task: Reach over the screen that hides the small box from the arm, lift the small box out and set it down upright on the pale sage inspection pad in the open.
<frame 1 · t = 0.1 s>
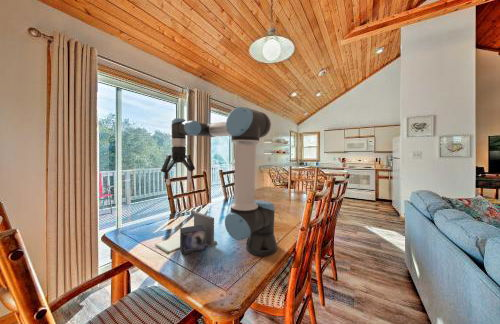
hand: (179, 183, 113), 28 cm above the table, fingers open, 13 cm apart
pad: (177, 243, 99), on the table
small box: (192, 250, 93), on the table
screen: (203, 241, 101), on the table
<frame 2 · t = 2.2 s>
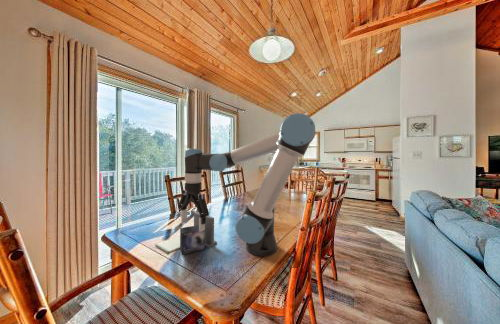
hand: (192, 226, 92), 11 cm above the table, fingers open, 13 cm apart
nothing on the table moved.
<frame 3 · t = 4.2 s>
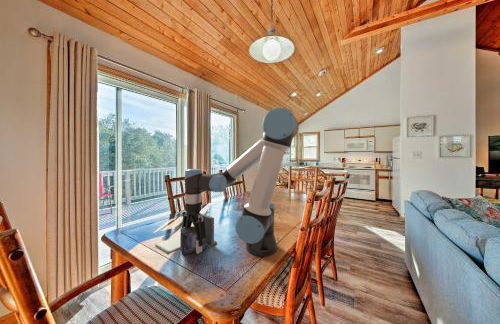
hand: (193, 249, 93), 0 cm above the table, fingers closed on small box, 8 cm apart
small box: (193, 250, 93), on the table, touching gripper
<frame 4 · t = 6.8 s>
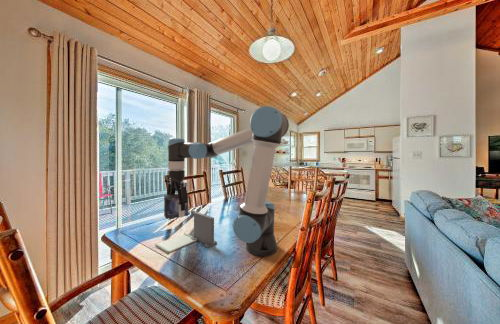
hand: (176, 214, 98), 15 cm above the table, fingers closed on small box, 8 cm apart
small box: (176, 216, 98), point 14 cm above the table, touching gripper
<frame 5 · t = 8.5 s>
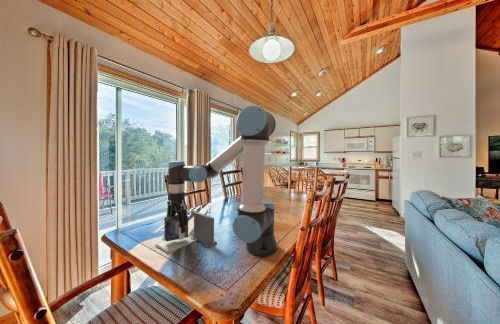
hand: (176, 236, 99), 4 cm above the table, fingers closed on small box, 8 cm apart
small box: (176, 237, 99), point 3 cm above the table, touching gripper
when the fingers open (2 cm above the table, at t = 9.7 s): small box drops 1 cm, resting on pad.
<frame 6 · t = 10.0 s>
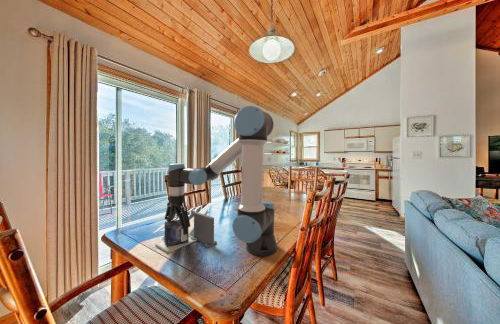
hand: (177, 237, 99), 3 cm above the table, fingers open, 11 cm apart
small box: (176, 242, 99), resting on pad
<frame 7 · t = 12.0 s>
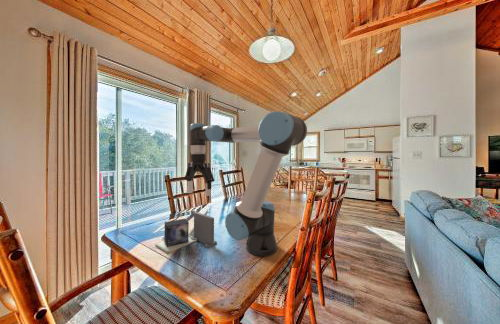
hand: (199, 194, 103), 24 cm above the table, fingers open, 13 cm apart
nothing on the table moved.
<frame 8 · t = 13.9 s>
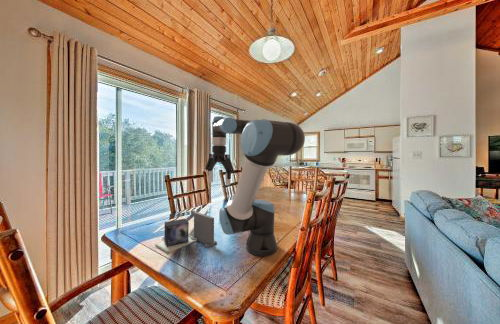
hand: (218, 183, 109), 29 cm above the table, fingers open, 13 cm apart
nothing on the table moved.
at the end: small box inside the target area on the pad (0.3 cm from its centre), point 0.4 cm above the pad's base; small box tilted 0°; the gripper is holding nothing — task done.
